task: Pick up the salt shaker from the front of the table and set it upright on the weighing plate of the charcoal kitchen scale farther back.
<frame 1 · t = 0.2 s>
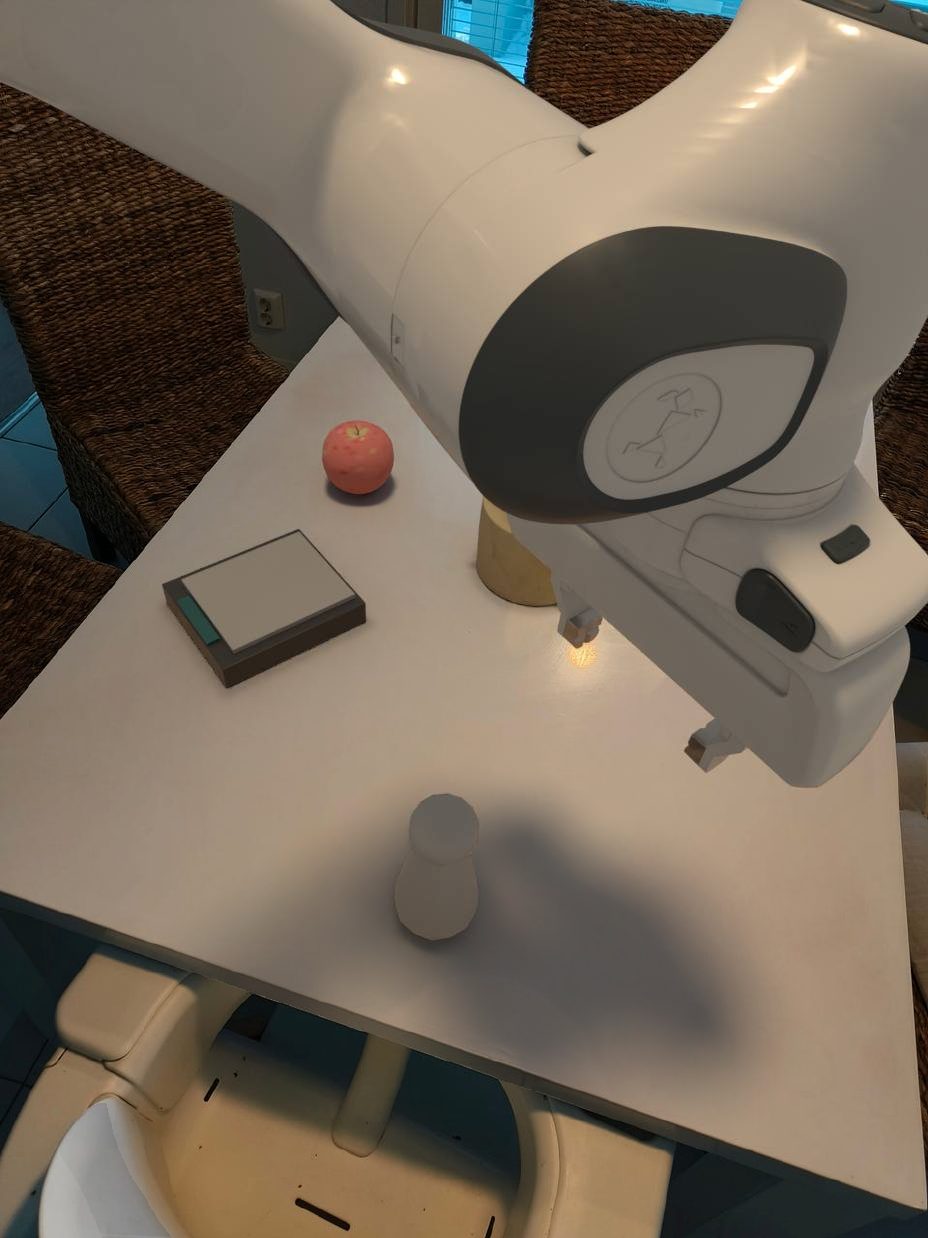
hand: (636, 693, 44), 24 cm above the table, tool pointing down, fingers open, 8 cm apart
salt shaker: (434, 912, 60), on the table
sugar bowl: (548, 570, 85), on the table
cloth: (464, 361, 111), on the table
apple: (359, 487, 92), on the table
scale: (266, 612, 78), on the table
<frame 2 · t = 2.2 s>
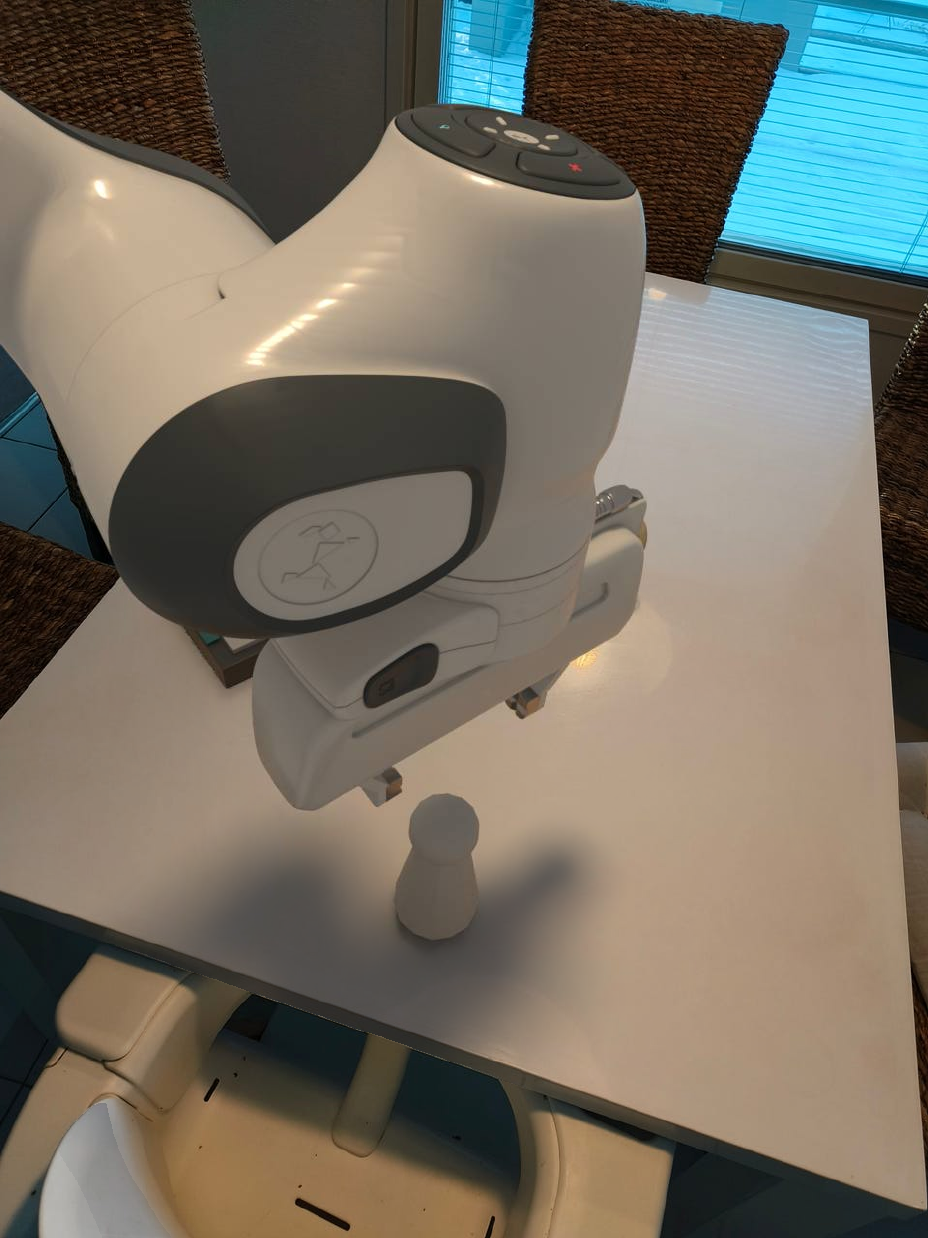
hand: (454, 746, 45), 21 cm above the table, tool pointing down, fingers open, 8 cm apart
nothing on the table moved.
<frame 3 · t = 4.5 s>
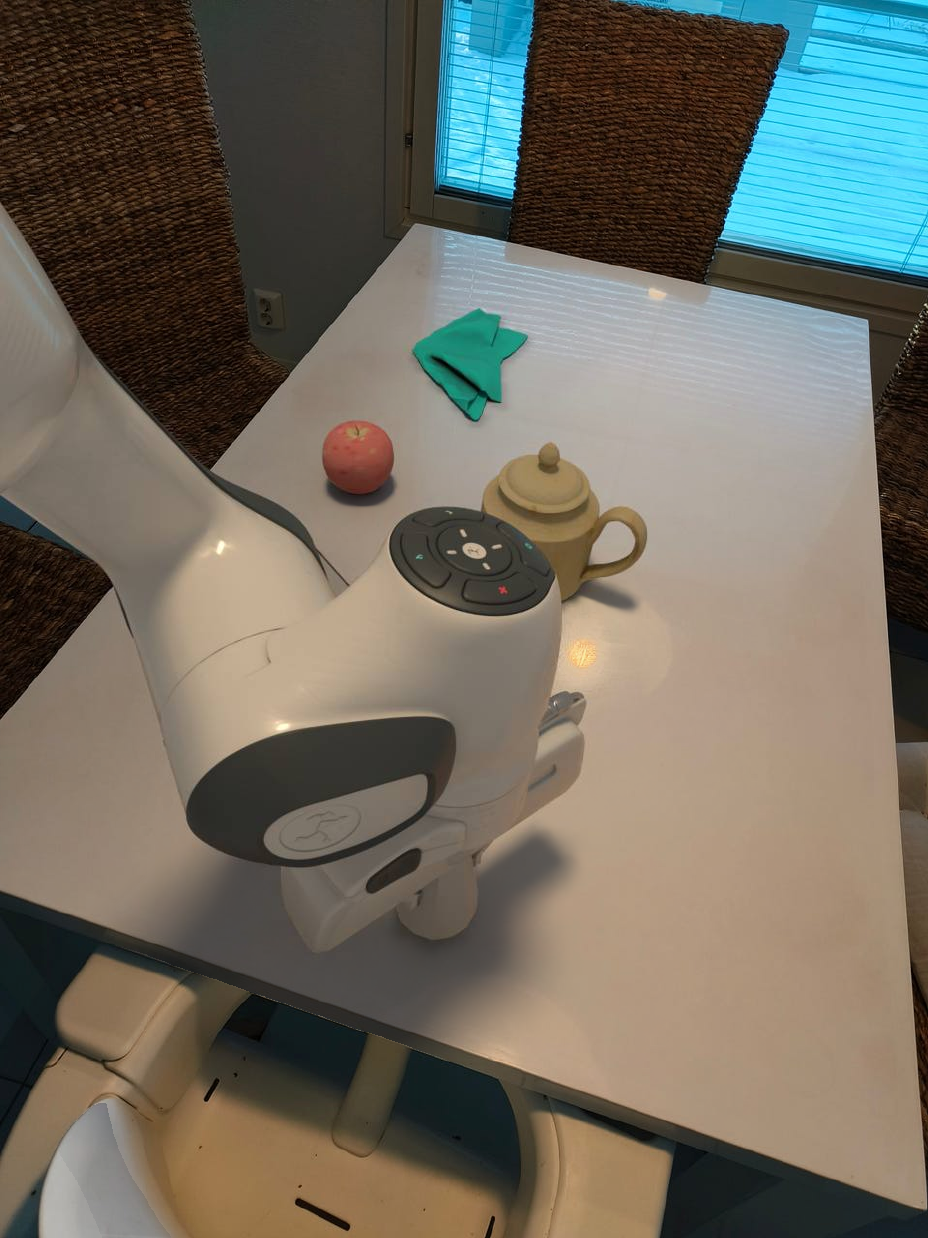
hand: (437, 878, 56), 5 cm above the table, tool pointing down, fingers closed on salt shaker, 3 cm apart
salt shaker: (434, 912, 60), on the table, touching gripper
everything else where it was.
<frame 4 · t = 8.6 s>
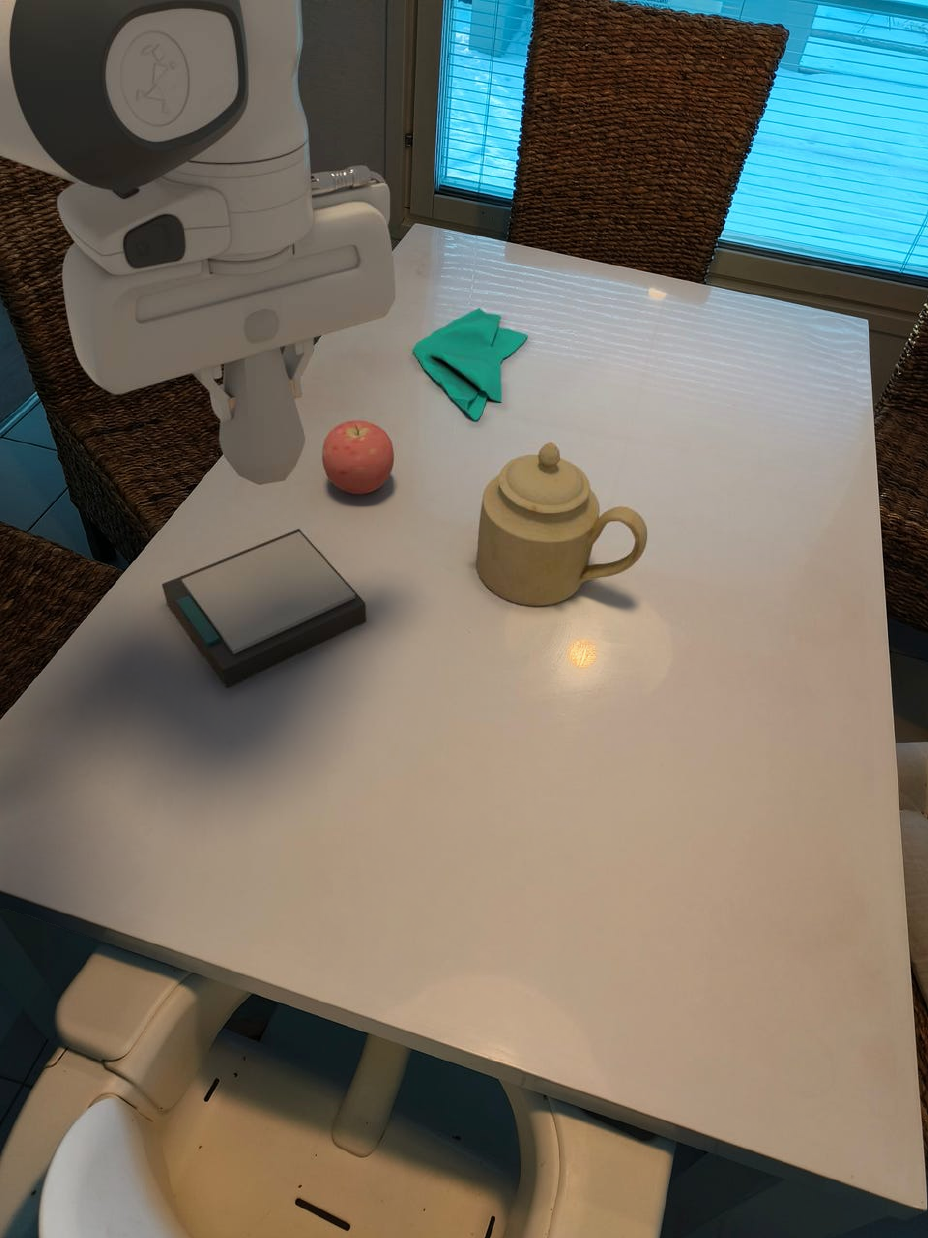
hand: (257, 405, 57), 25 cm above the table, tool pointing down, fingers closed on salt shaker, 3 cm apart
salt shaker: (266, 469, 61), point 20 cm above the table, touching gripper
everything else where it was.
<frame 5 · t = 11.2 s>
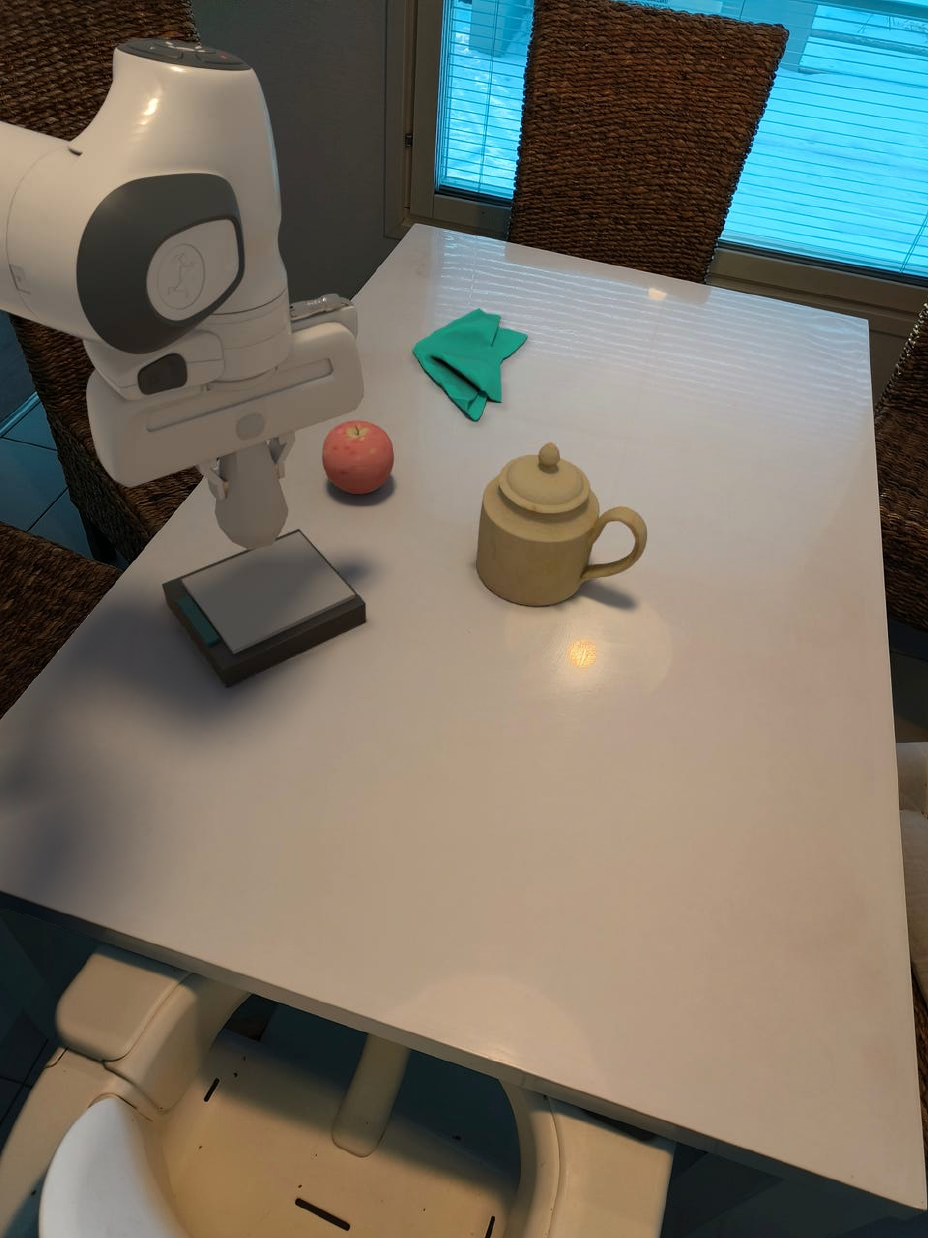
hand: (247, 485, 67), 15 cm above the table, tool pointing down, fingers closed on salt shaker, 3 cm apart
salt shaker: (255, 535, 71), point 10 cm above the table, touching gripper
everything else where it was.
when the fingers open (8 cm above the table, at t = 13.0 s): salt shaker stays where it is, resting on scale.
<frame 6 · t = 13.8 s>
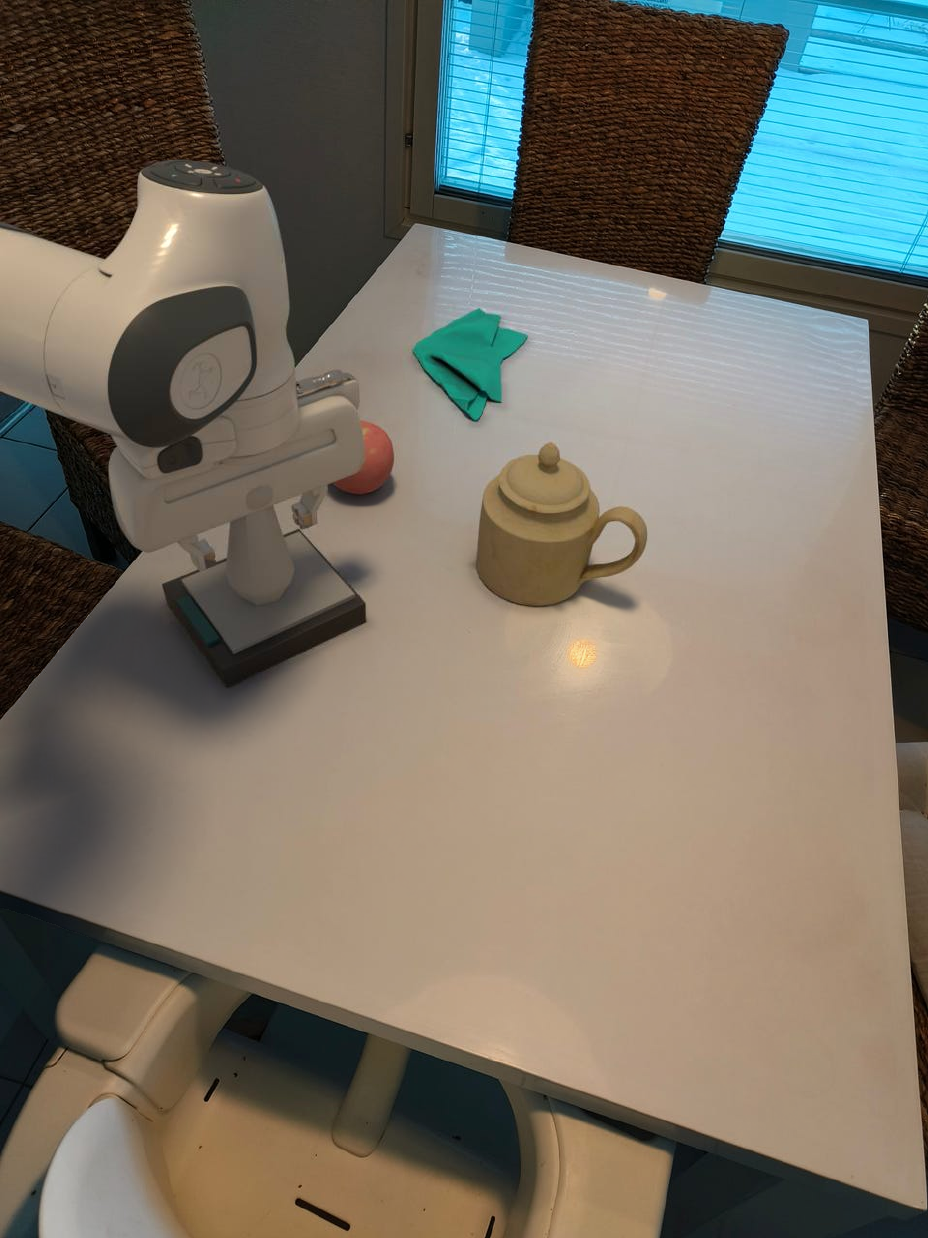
hand: (256, 543, 72), 9 cm above the table, tool pointing down, fingers open, 8 cm apart
salt shaker: (263, 590, 76), point 3 cm above the table, touching scale
everything else where it was.
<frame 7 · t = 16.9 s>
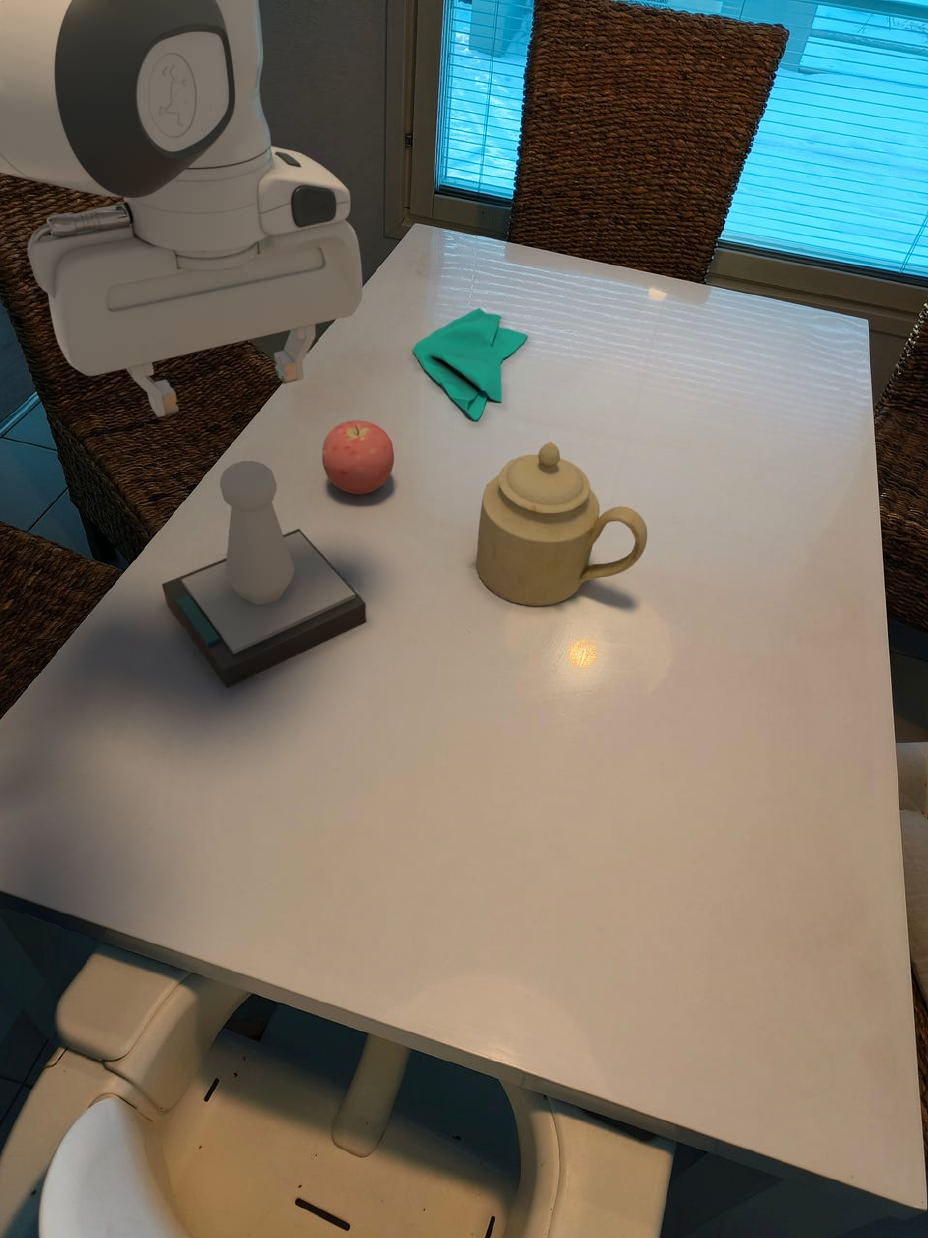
hand: (229, 393, 61), 23 cm above the table, tool pointing down, fingers open, 8 cm apart
nothing on the table moved.
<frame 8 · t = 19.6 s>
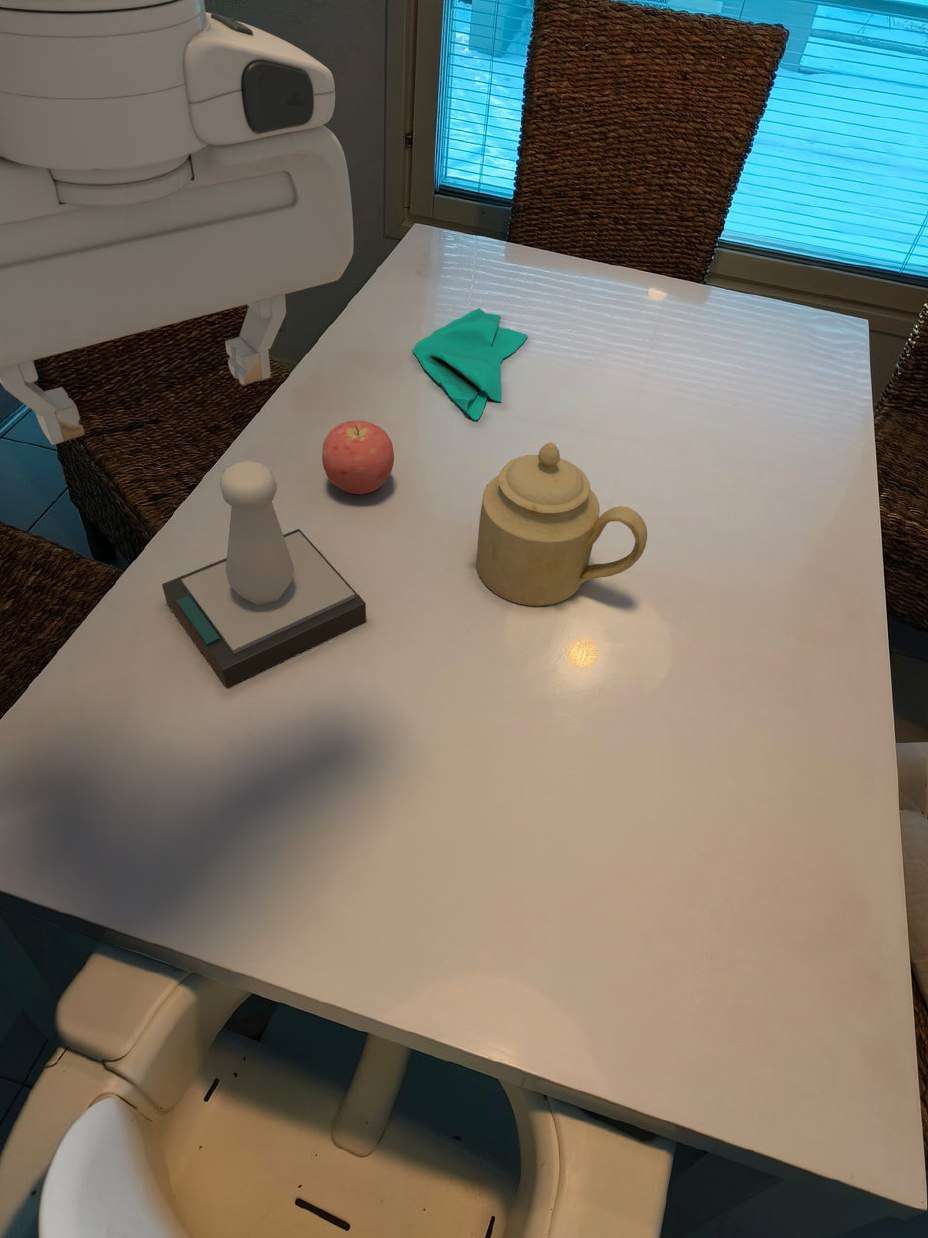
hand: (162, 404, 41), 34 cm above the table, tool pointing down, fingers open, 8 cm apart
nothing on the table moved.
at the end: salt shaker inside the target area on the scale (0.6 cm from its centre), point 2.9 cm above the scale's base; salt shaker tilted 0°; the gripper is holding nothing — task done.
